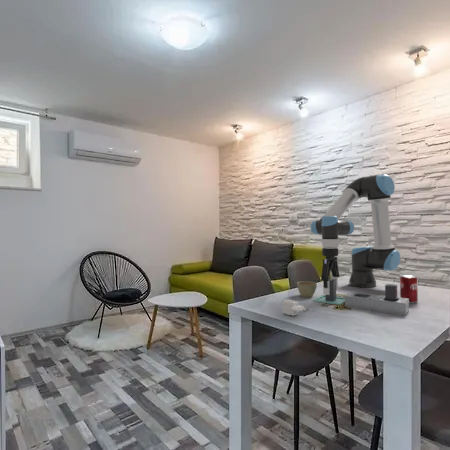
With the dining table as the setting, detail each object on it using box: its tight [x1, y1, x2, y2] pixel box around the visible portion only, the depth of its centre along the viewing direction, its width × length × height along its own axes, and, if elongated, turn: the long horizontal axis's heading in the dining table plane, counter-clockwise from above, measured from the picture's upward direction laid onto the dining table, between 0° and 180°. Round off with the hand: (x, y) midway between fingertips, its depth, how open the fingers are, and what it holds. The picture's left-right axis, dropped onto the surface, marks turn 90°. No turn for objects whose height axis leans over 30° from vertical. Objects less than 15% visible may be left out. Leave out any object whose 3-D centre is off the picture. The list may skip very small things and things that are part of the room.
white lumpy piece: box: [281, 299, 310, 317], centre depth 131 cm, size 11×5×6 cm, turn 43°
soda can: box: [399, 274, 419, 304], centre depth 151 cm, size 7×7×12 cm
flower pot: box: [296, 281, 318, 298], centre depth 164 cm, size 10×10×7 cm
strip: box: [344, 283, 410, 317], centre depth 144 cm, size 20×24×11 cm
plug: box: [324, 278, 337, 301], centre depth 155 cm, size 4×4×10 cm
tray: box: [312, 294, 345, 306], centre depth 155 cm, size 13×13×1 cm
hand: (330, 292), depth 155 cm, fingers open, 12 cm apart
